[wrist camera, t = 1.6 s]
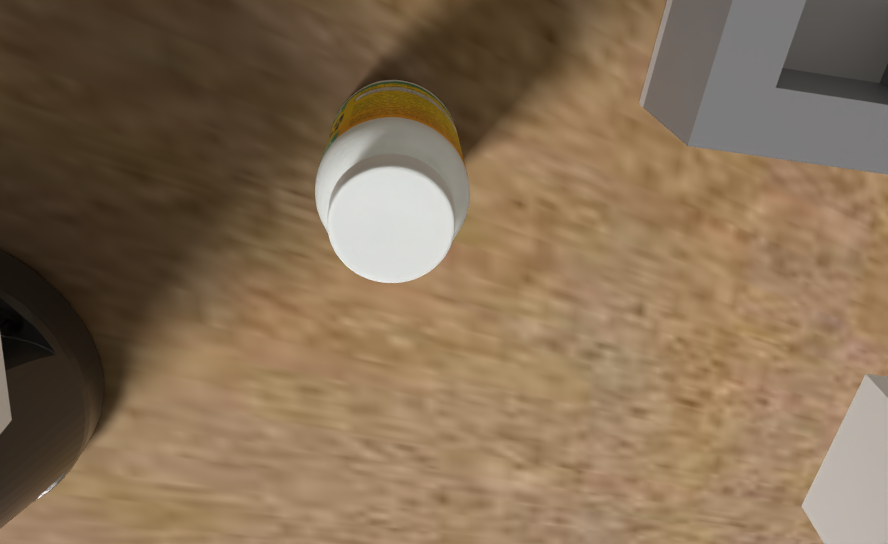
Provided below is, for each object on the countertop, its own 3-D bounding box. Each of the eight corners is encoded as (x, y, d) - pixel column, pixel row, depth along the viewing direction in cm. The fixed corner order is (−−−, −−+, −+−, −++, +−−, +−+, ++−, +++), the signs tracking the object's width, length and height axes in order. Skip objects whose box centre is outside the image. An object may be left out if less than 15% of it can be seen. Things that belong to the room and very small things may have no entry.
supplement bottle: (456, 198, 33) (475, 304, 24) (335, 200, 33) (310, 306, 24) (458, 75, 31) (480, 144, 22) (327, 76, 30) (297, 145, 22)
